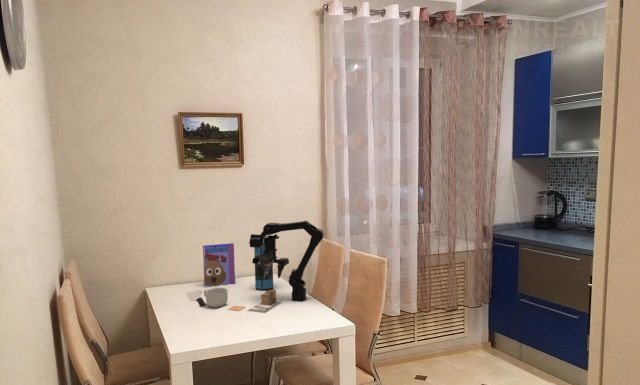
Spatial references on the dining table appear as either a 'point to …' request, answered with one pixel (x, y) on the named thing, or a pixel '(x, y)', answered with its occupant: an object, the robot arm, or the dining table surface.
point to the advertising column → (267, 280)
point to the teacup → (216, 297)
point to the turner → (266, 301)
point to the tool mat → (269, 309)
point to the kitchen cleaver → (196, 297)
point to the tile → (236, 308)
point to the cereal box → (218, 264)
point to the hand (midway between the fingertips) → (271, 277)
